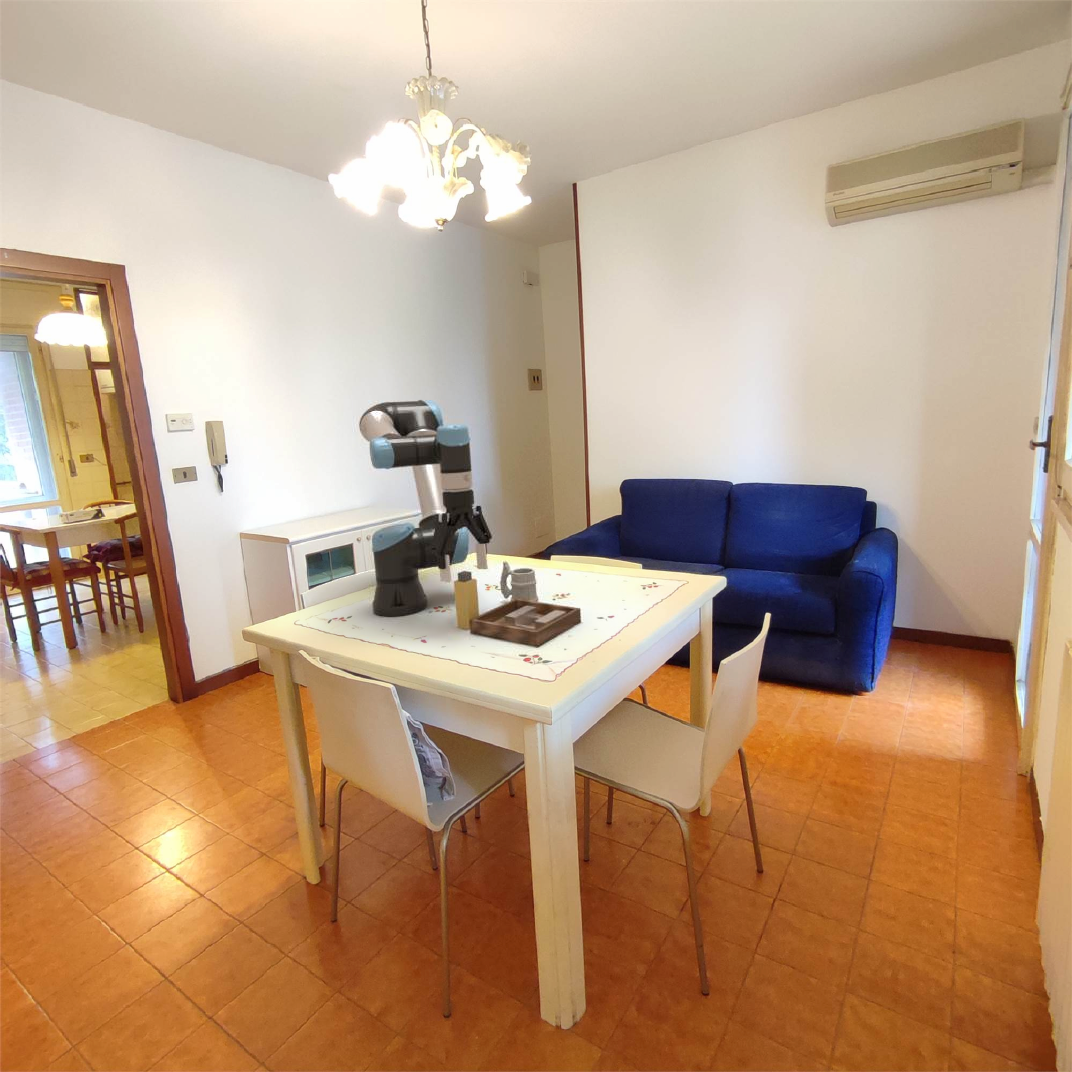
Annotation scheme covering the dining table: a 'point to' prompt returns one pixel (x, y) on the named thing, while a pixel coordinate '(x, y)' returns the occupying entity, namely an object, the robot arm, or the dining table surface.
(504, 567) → the mug
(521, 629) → the box
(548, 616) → the inlet
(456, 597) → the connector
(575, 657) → the dining table surface
